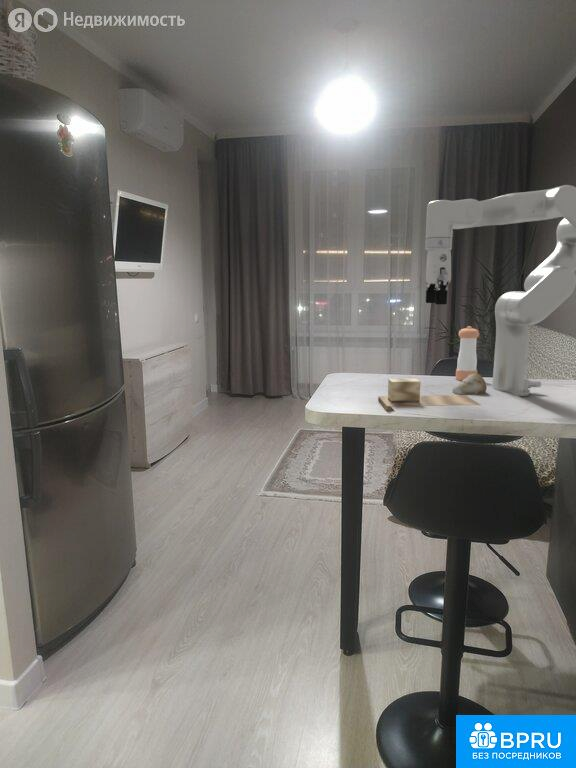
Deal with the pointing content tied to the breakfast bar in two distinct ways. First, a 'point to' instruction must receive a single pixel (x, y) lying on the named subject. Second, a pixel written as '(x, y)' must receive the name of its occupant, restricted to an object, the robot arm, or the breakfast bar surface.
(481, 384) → the beige stone
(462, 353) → the pepper shaker
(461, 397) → the plank
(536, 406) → the breakfast bar surface
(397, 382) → the block
